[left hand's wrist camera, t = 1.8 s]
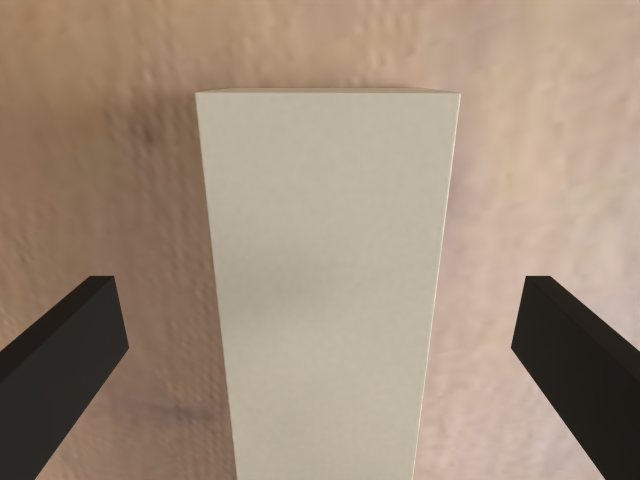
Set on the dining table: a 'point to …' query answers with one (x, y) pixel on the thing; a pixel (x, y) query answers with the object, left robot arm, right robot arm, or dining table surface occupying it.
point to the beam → (326, 270)
